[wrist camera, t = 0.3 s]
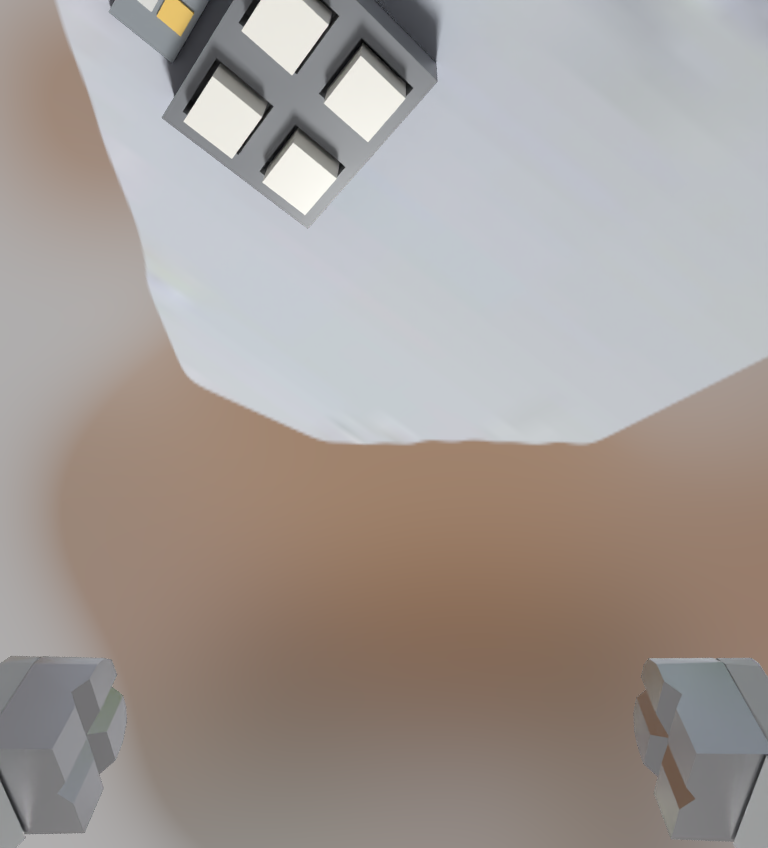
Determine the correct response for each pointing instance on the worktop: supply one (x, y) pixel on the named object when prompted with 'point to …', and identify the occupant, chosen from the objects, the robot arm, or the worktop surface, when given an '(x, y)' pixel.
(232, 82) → the button back left
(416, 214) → the worktop surface
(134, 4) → the pattern card
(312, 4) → the button front left
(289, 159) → the button back right
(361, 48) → the button front right
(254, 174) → the button board
